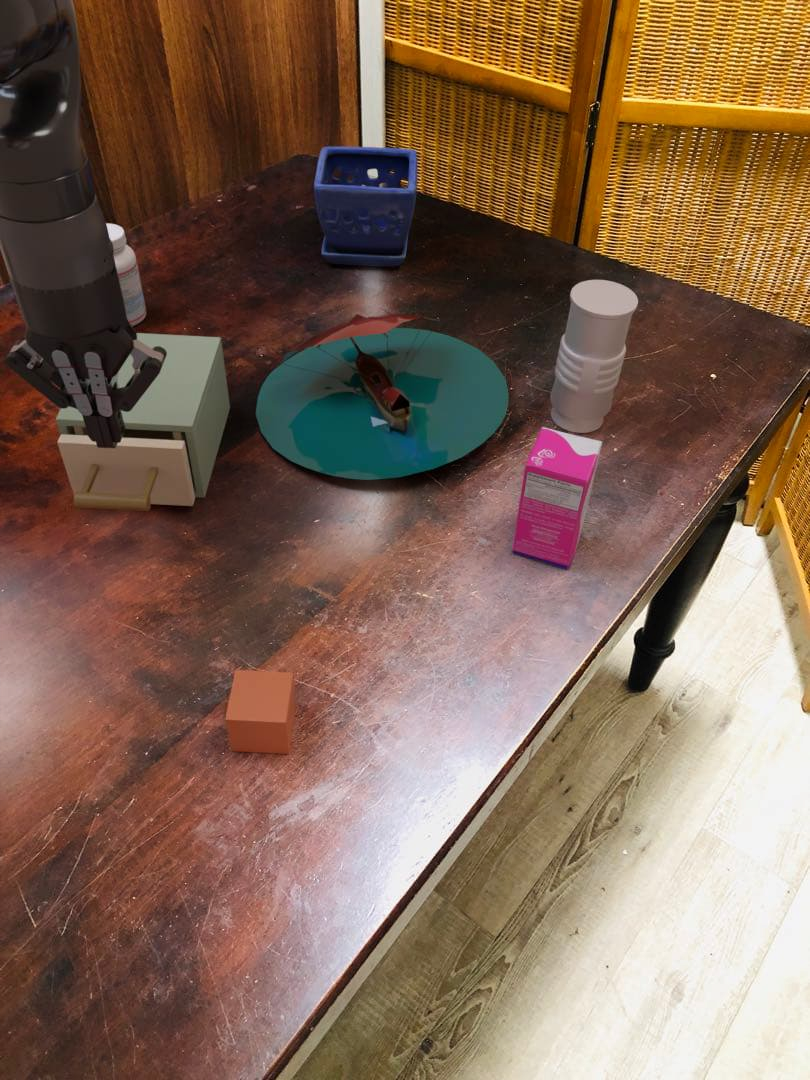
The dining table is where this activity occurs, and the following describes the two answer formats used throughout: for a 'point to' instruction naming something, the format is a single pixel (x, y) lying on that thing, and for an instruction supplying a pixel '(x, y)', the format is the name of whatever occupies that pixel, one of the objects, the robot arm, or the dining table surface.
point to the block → (261, 711)
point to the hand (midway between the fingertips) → (110, 441)
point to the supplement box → (555, 497)
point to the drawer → (129, 470)
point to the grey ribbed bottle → (591, 354)
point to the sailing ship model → (381, 400)
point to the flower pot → (365, 204)
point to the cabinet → (178, 399)
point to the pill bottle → (127, 275)
